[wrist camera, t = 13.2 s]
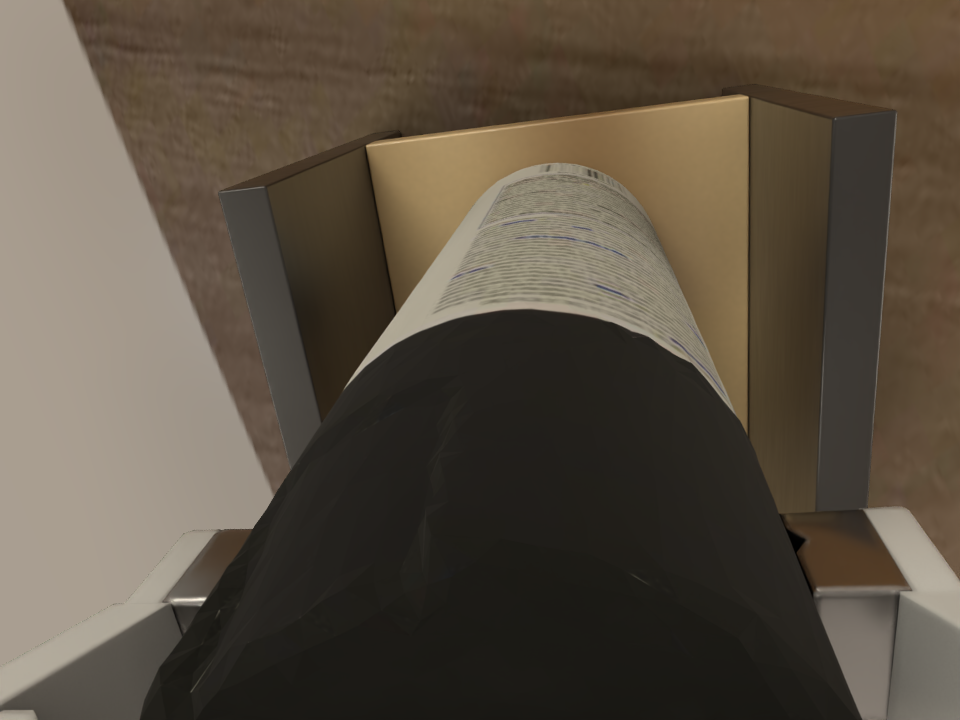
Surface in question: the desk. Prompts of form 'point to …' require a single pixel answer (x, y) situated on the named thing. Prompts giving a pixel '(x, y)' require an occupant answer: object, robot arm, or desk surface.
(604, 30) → the desk surface
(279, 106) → the desk surface
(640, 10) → the desk surface
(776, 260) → the shelf
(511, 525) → the spray can
